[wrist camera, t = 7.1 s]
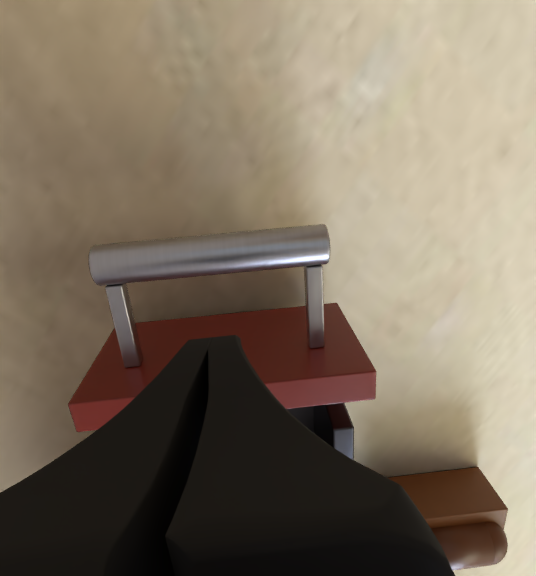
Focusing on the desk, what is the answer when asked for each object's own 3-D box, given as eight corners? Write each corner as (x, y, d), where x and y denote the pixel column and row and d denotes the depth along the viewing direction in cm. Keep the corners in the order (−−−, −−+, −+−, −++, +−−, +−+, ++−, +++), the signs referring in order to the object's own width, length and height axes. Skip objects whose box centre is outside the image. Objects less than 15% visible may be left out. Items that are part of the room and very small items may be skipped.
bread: (375, 525, 26) (400, 597, 22) (377, 478, 25) (404, 545, 21) (470, 514, 26) (511, 582, 22) (478, 466, 25) (524, 530, 21)
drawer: (91, 225, 17) (23, 270, 11) (335, 203, 17) (381, 236, 12) (163, 515, 23) (140, 631, 18) (339, 494, 24) (369, 601, 18)
